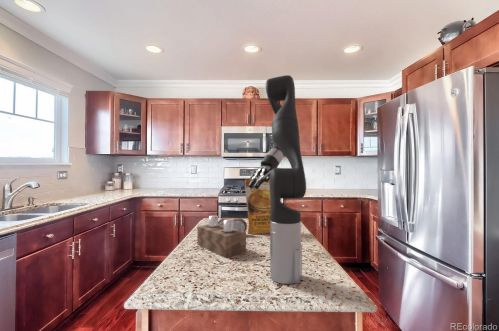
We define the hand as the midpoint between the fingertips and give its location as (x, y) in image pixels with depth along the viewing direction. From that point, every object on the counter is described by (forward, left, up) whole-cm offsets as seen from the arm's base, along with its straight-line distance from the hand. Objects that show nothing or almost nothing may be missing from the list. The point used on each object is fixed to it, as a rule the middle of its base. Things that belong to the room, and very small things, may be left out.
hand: (252, 187), depth 109 cm
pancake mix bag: (+2, -22, -25) cm, 34 cm away
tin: (+15, -12, -25) cm, 32 cm away
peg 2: (+6, +11, -20) cm, 24 cm away
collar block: (+11, +9, -25) cm, 29 cm away
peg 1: (+16, +6, -20) cm, 27 cm away
